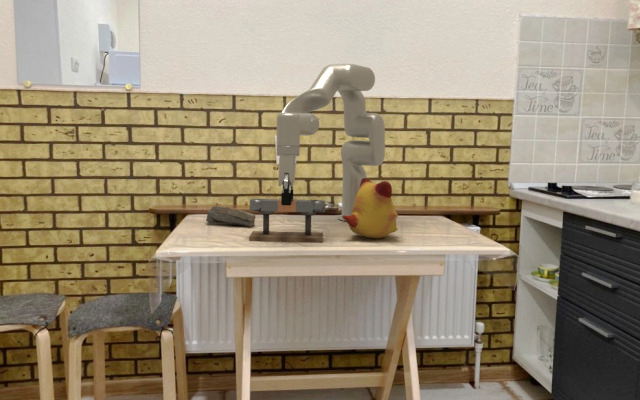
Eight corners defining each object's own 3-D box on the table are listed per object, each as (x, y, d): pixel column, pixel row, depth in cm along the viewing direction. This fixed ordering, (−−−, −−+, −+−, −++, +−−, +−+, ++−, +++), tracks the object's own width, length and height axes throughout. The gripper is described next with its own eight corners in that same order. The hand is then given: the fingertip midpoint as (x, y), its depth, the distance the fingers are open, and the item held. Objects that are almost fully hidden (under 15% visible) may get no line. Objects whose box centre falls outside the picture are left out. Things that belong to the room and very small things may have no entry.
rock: (243, 240, 208) (254, 215, 208) (198, 220, 210) (209, 195, 210) (250, 239, 219) (260, 215, 219) (207, 220, 221) (218, 196, 221)
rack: (322, 236, 196) (323, 209, 195) (322, 242, 187) (323, 213, 186) (252, 235, 197) (252, 207, 195) (249, 240, 188) (249, 212, 186)
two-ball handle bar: (325, 210, 193) (325, 199, 193) (324, 212, 188) (325, 201, 188) (250, 208, 193) (250, 197, 193) (248, 211, 188) (248, 199, 188)
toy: (409, 240, 193) (412, 181, 190) (359, 247, 182) (361, 184, 179) (373, 230, 210) (375, 175, 207) (325, 235, 198) (326, 178, 196)
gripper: (278, 149, 197) (278, 199, 199) (274, 152, 179) (273, 206, 182) (300, 150, 196) (299, 199, 199) (298, 153, 179) (297, 207, 182)
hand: (287, 202), depth 190 cm, fingers open, 9 cm apart
